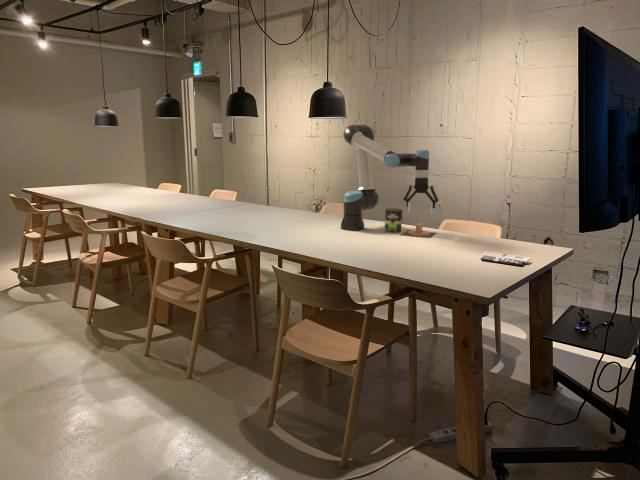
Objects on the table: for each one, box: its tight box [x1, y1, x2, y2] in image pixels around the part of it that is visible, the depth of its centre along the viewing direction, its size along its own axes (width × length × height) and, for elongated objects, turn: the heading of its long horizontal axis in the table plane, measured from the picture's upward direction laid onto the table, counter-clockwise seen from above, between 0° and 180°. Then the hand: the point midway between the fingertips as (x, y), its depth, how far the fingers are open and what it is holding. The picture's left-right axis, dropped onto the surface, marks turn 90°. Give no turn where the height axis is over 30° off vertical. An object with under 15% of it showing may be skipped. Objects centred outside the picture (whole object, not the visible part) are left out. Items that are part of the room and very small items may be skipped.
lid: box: [407, 222, 431, 236], centre depth 283 cm, size 13×13×6 cm
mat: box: [400, 229, 437, 239], centre depth 284 cm, size 18×18×1 cm
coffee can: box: [384, 207, 403, 234], centre depth 289 cm, size 10×10×14 cm
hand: (420, 213), depth 281 cm, fingers open, 13 cm apart
